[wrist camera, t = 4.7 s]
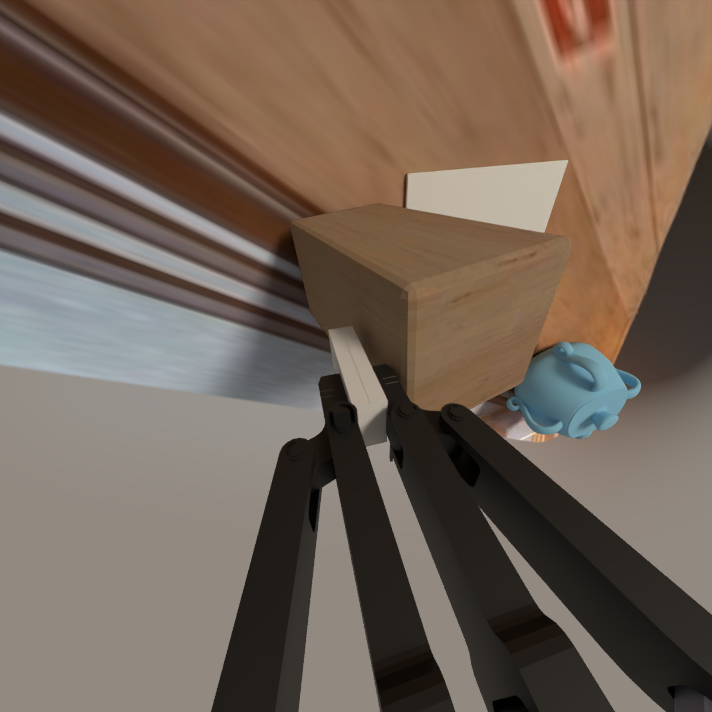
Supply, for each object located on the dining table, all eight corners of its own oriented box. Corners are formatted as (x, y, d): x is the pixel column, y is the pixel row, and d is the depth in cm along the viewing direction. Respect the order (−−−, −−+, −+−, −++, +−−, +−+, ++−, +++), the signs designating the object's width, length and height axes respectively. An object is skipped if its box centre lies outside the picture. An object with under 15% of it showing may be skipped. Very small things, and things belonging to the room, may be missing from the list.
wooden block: (384, 291, 34) (525, 385, 19) (309, 314, 31) (405, 444, 16) (380, 202, 28) (581, 236, 13) (287, 220, 25) (407, 290, 10)
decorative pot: (593, 350, 52) (676, 398, 42) (532, 407, 59) (590, 461, 48) (551, 321, 45) (639, 371, 34) (486, 391, 51) (542, 451, 41)
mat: (406, 173, 27) (408, 173, 27) (565, 160, 30) (568, 160, 30) (400, 308, 36) (401, 309, 36) (523, 287, 39) (525, 288, 39)
